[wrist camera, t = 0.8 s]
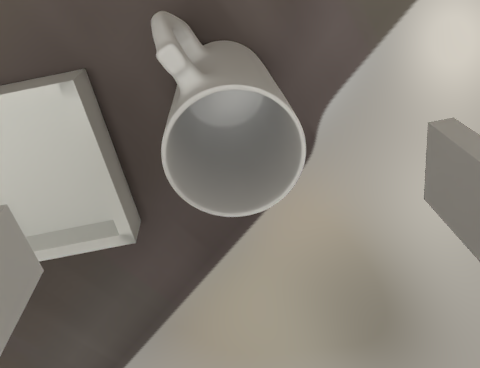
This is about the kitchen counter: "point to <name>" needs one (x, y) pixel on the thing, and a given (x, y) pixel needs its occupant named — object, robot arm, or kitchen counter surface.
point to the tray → (62, 168)
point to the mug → (225, 125)
